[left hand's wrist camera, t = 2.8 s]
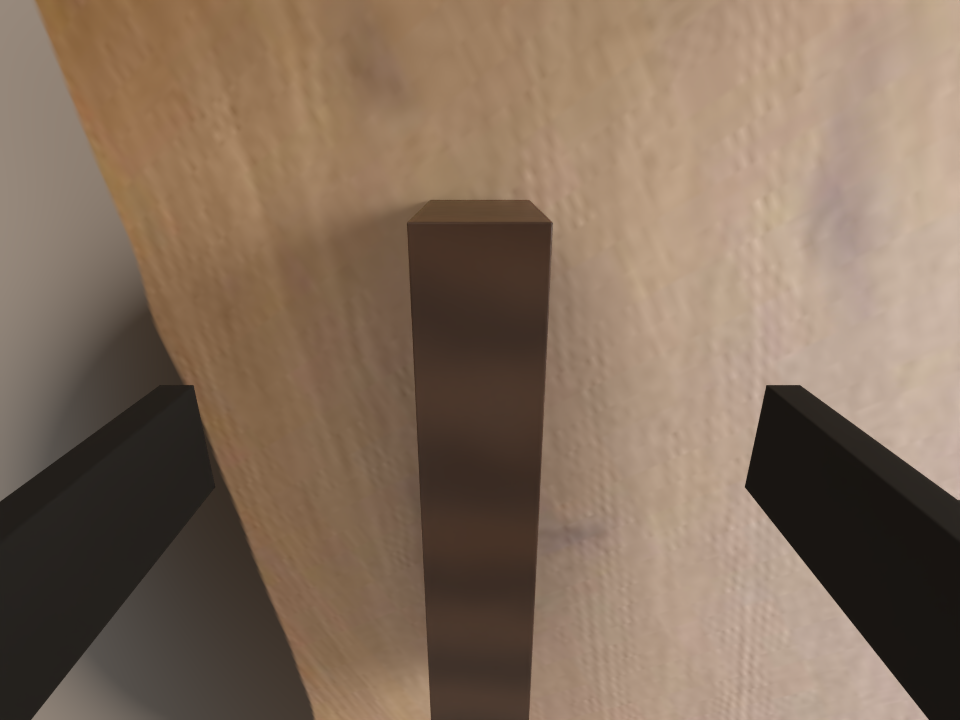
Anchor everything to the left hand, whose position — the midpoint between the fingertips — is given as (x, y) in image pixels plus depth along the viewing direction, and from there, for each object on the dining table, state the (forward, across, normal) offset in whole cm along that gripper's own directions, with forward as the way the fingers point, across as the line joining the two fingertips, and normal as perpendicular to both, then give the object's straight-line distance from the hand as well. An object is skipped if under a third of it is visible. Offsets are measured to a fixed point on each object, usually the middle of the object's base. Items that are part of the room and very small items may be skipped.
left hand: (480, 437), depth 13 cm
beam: (+17, 0, -11) cm, 20 cm away
